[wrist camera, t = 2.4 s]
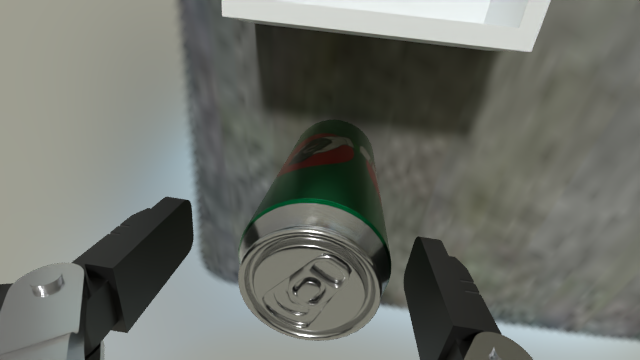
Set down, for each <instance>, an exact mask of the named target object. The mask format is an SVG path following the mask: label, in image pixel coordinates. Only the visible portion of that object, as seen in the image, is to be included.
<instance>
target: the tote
mask: <svg viewBox="0 0 640 360" xmlns="http://www.w3.org/2000/svg"><path fill="white" fill-rule="evenodd" d="M550 1H551V0H222V16H224V17H228V18H233V19H237V20H242V21H246V22H251V23H256V24H264V25H273V26H281V27H290V28H298V29H307V30H315V31H324V32H333V33H341V34H350V35H358V36H367V37H375V38H384V39H392V40H401V41H410V42H418V43H427V44H435V45H444V46H452V47H461V48H470V49H478V50H487V51H516V52H531V51H532V49H533V46H534V43H535V41H536V38H537V35H538V33H539V30H540V27H541V25H542V22H543V19H544V17H545V14H546V11H547V9H548V6H549V4H550Z"/></svg>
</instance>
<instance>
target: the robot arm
mask: <svg viewBox="0 0 640 360" xmlns="http://www.w3.org/2000/svg"><path fill="white" fill-rule="evenodd" d="M192 243H193V222H192V208H191V203H190V201H189V200H184V199H178V198H171V197H165V198H163V199H162V200H161V201H160V202H159V203H157V204H156V205H155V206H154V207H152V208H151V209H150V208H147V209H145V210H143V211H140V212H138V213H136V214H134V215H132V216H130V217H129V218H128V219H127V220H125V221H124V222H123V223H122V224H121V225H120V226H118V227H116V228H115V229H114V230H113V231H111V233H110V234H108V235H106V236H105V237H104V238H103V239H101V240H100V241H99V242H97V243H96V244H95V245H93V246H92V247H91V248H90V249H88V250H87V251H86V252H85V253H83V254H82V255H81V256H79V257H78V258H77V259H76V260H74V261H73V262H72V263H57V264H51V265H47V266H44V267H41V268H38V269H36V270H33V271H31V272H29V273H27V274H26V275H24V276H22V277H21V278H19V279H18V280H17V281H16V282H15V283H12V284H0V360H104V341H103V339H104V337H105V336H106V335H107V334H108V333H109V331H110V330H113V331H119V332H125V333H128V331H129V330H130V329H131V327H132V326H133V325H134V323H135V322H136V321H137V320H138V318H139V317H140V315H141V314H142V313H143V312H144V311H145V309H146V307H148V305H149V304H150V303H151V301H152V300H153V299H154V298H155V296H156V295H157V294H158V292H159V291H160V290H161V288H162V287H163V286H164V285H165V283H166V282H167V281H168V279H169V278H170V276H171V275H172V274H173V273H174V272H175V270H176V269H177V268H178V266H179V265H180V264H181V262H182V261H183V260H184V259H185V257H186V256H187V255H188V253H189V251H190V250H191V247H192ZM473 282H474V281H473V279H472V277H471V275H470V274H469V272H468V270H467V268H466V267H465V266H464V265H463V264H462V263H461V262H460V261H459V260H458V259H456V258H455V257H451V256H448V253H447V251H446V249H445V247H444V245H443V243H442V241H441V240H437V239H431V238H424V237H417V238H416V239H415V242H414V245H413V248H412V251H411V254H410V257H409V260H408V263H407V266H406V270H405V274H404V291H405V295H406V299H407V304H408V308H409V313H410V317H411V321H412V326H413V330H414V335H415V339H416V343H417V348H418V352H419V357H420V360H533V359H532V357H531V356H530V355H529V354H528V353H527V352H526V351H525V350H524V349H523V348H522V347H521V346H519V345H518V344H517V343H515V342H514V341H513V340H511V339H509V338H507V337H505V336H503V335H501V332H500V330H499V329H498V327H497V325H496V323H495V321H494V319H493V317H492V315H491V313H490V311H489V310H488V308H487V306H486V304H485V302H484V300H483V298H482V296H481V295H479V291H478V289H477V287H476V285H475V284H474V283H473Z"/></svg>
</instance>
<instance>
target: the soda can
mask: <svg viewBox="0 0 640 360" xmlns="http://www.w3.org/2000/svg"><path fill="white" fill-rule="evenodd" d="M239 264H240V268H239V274H238V282H239V288H240V292H241V295H242V297H243V300H244V302H245V303H246V305H247V306H248V308H249V309H250V310H251V312H252V313H253V314H254V315H255V316H256V317H257V318H258V319H260V320H261V321H262V322H263V323H265V324H266V325H267V326H269V327H270V328H272V329H274V330H276V331H278V332H280V333H283V334H285V335H288V336H291V337H295V338H299V339H305V340H315V341H320V340H332V339H338V338H341V337H344V336H348V335H350V334H352V333H354V332H356V331H358V330H359V329H361V328H363V327H364V326H365V325H366V324H367V323H368V322H369V321H370V320H371V319H372V318H373V316H374V315H375V314H376V312H377V310H378V308H379V305H380V301H381V297H382V294H383V292H384V291H385V289H386V287H387V285H388V282H389V278H390V275H391V258H390V251H389V245H388V240H387V234H386V228H385V222H384V216H383V210H382V204H381V198H380V192H379V186H378V180H377V174H376V168H375V162H374V156H373V150H372V147H371V144H370V142H369V140H368V138H367V137H366V135H365V134H364V133H363V132H362V131H361V130H360V129H359V128H357V127H356V126H354V125H352V124H350V123H348V122H345V121H341V120H326V121H322V122H319V123H316V124H314V125H313V126H311V127H310V128H308V129H307V130H306V131H305V132H304V133H303V134H302V136H301V137H300V139H299V140H298V142H297V144H296V145H295V147H294V149H293V150H292V152H291V154H290V155H289V157H288V159H287V160H286V162H285V164H284V165H283V167H282V169H281V170H280V172H279V174H278V175H277V177H276V179H275V180H274V182H273V184H272V185H271V187H270V189H269V190H268V192H267V194H266V195H265V197H264V199H263V200H262V202H261V204H260V205H259V207H258V209H257V210H256V212H255V214H254V215H253V217H252V219H251V220H250V222H249V224H248V225H247V227H246V229H245V230H244V232H243V235H242V237H241V240H240V245H239Z"/></svg>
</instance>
